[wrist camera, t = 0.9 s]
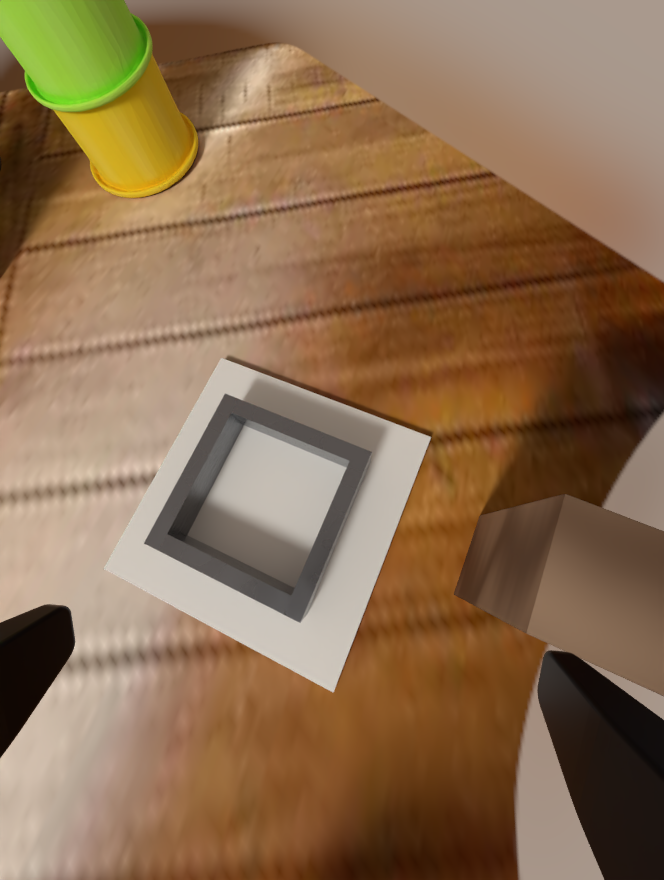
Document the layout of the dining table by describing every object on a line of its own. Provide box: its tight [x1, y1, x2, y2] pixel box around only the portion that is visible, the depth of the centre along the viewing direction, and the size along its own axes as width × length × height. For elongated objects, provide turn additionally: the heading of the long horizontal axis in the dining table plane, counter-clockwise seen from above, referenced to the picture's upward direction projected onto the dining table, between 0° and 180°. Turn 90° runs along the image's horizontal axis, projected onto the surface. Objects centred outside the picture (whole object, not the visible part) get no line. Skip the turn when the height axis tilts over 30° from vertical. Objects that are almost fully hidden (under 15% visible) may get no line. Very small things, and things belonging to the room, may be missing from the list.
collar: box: [144, 394, 372, 623], centre depth 22 cm, size 10×10×2 cm
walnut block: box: [454, 494, 664, 696], centre depth 17 cm, size 5×5×10 cm
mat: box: [104, 358, 431, 692], centre depth 24 cm, size 16×16×1 cm
